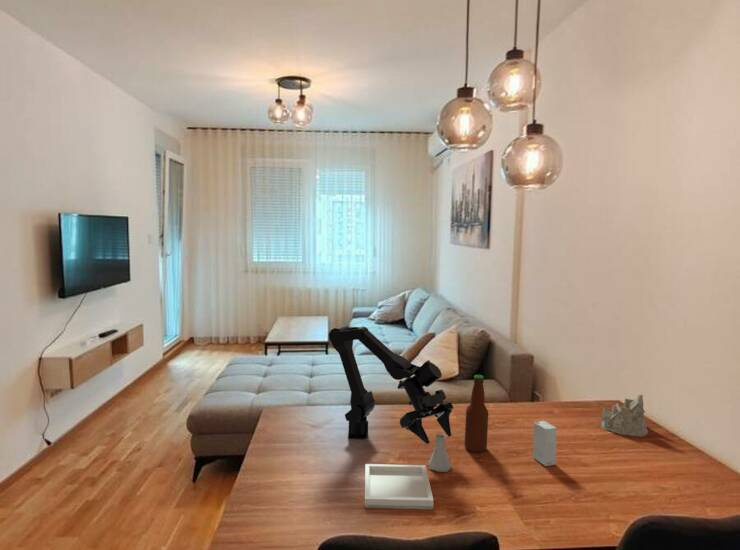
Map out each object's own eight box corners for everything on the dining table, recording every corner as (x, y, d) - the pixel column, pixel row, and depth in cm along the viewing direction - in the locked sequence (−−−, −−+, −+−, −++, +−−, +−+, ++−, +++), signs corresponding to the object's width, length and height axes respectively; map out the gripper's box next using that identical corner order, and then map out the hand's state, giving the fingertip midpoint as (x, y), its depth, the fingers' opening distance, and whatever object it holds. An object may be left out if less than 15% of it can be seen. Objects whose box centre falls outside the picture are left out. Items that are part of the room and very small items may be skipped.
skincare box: (556, 464, 147) (558, 427, 146) (544, 467, 146) (547, 429, 145) (542, 455, 153) (544, 420, 152) (531, 457, 152) (533, 421, 150)
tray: (364, 507, 122) (364, 498, 122) (365, 471, 140) (365, 463, 140) (433, 509, 123) (433, 500, 122) (425, 473, 140) (425, 465, 140)
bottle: (490, 448, 158) (494, 376, 155) (479, 455, 152) (483, 381, 150) (471, 440, 163) (474, 371, 160) (460, 447, 157) (463, 375, 155)
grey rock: (648, 424, 180) (648, 386, 179) (647, 441, 166) (647, 401, 165) (603, 417, 189) (603, 381, 187) (598, 433, 175) (598, 394, 173)
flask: (453, 463, 147) (454, 433, 146) (449, 475, 140) (450, 443, 139) (430, 459, 149) (431, 429, 148) (425, 470, 142) (426, 438, 141)
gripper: (406, 387, 141) (430, 436, 134) (450, 377, 152) (475, 421, 144) (390, 404, 149) (411, 451, 141) (433, 393, 159) (455, 436, 152)
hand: (439, 439), depth 144 cm, fingers open, 9 cm apart
